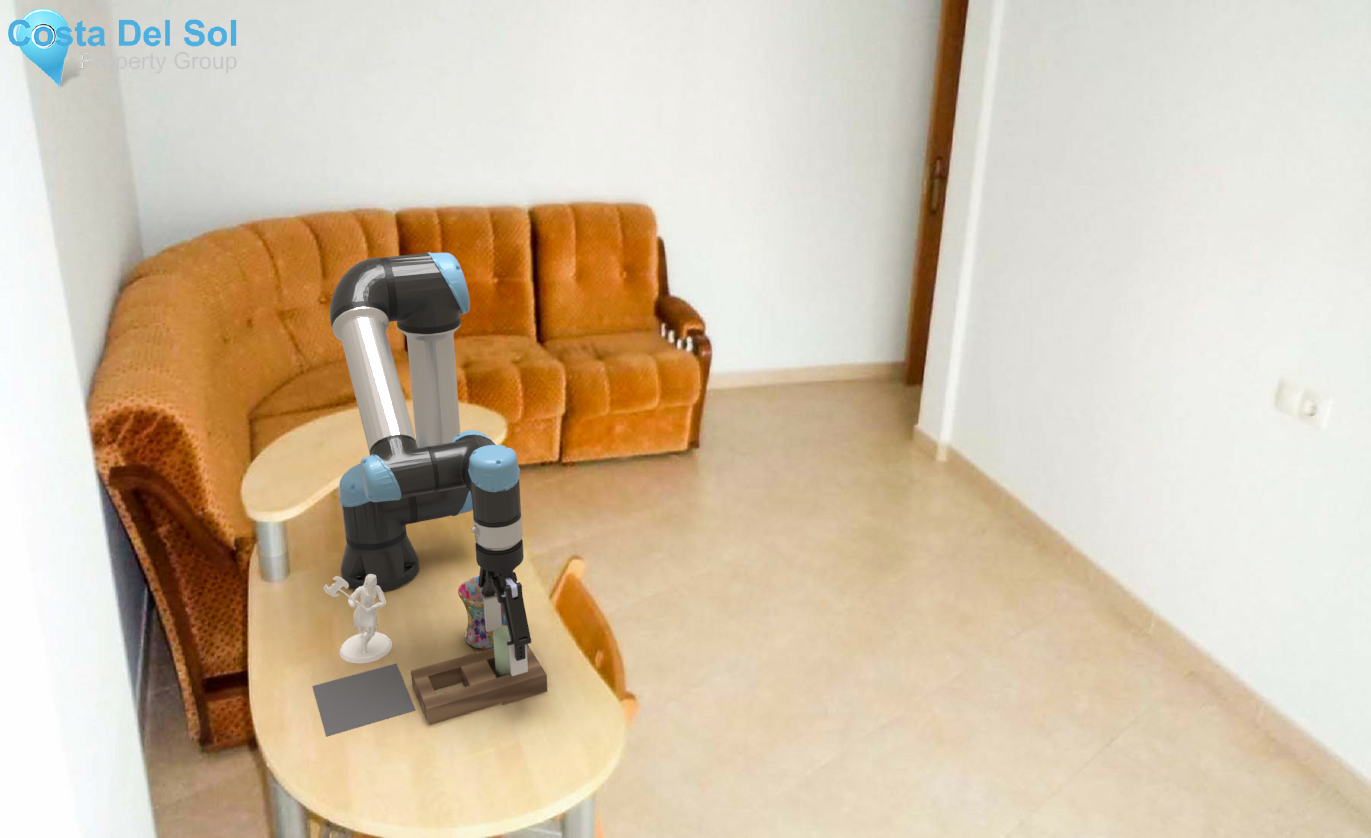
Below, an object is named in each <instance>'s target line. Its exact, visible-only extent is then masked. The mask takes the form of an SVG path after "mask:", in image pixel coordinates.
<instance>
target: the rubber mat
mask: <svg viewBox="0 0 1371 838" xmlns="http://www.w3.org/2000/svg"><path fill="white" fill-rule="evenodd" d="M312 689H313V693H314V698H315V700H316V705H317V708H318V712H319V715H320V718H321V722H322V726H323V731H324V733H325V734H324V735H325V736H326V737H330V736H333V735H336V734H341V733H344V732H347V731H351V730H354V729H358V728H360V727H364V726H365V727H366V726H367V725H368V726H369V725H371V724H375V723H377V722H381V721H385V720H389V719H391V718H394V717H398V716H399V717H400V716H402V715H406V714H409V713H412V712H415V711H417V709H416V707H415V705H414V703H413V700H412V698H411V695H410V693H409V690H408V688H407V684H406V683H405V681H404V678H403V676H402V673H401V671H400V669H399V667H398V664H397V662H396V663H393V664H388V665H386V666H380V667H377V668H374V669H371V670H366V671H362V672H359V673H356V674H355V673H354V674H352V675H348V676H345V677H339V678H338V679H334V680H330V681H326V682H322V683H319V684H315V685H312Z"/></svg>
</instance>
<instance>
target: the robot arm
mask: <svg viewBox="0 0 1371 838" xmlns="http://www.w3.org/2000/svg"><path fill="white" fill-rule="evenodd" d="M470 306H471V300H470V294H469V289H468V285H467V281H466V278H465V275H464V272H463V270H462V268H461V265H460V263H459V260H458V259H457V258H456V257H455V256H454V255H453V254H451V253H450V252H429V251H428V252H422V253H414V254H404V255H396V256H386V257H371V258H366V259H364V260H361V261H359V262H358V263H356V264H354V265H352V266H351V267H350V268H349V269H348V270H347V271H346V272H345V273H344V274H343V276H342V277H341V278H340V280H339V282H337V285H336V286H335V288H334V290H333V293H332V296H331V300H330V305H329V321H330V326H331V329H332V333H333V335H334V337H335V338H336V339H337V340H339V341H341V344H342V348H343V352H344V356H345V359H346V364H347V368H348V372H349V377H350V380H351V384H352V389H353V392H354V395H355V400H356V401H355V402H356V405H357V408H358V411H359V416H360V420H361V421H360V422H361V425H362V427H363V428H362V429H363V433H364V437H365V441H366V445H367V448H368V453H369V455H368V456H365V457H363V458H362V459H361V460H360V462H359V463H358V464H356V465H354V466H352V467H350V468H349V469H348V470H346V472H344V473H343V474H342V476H341V478H340V480H339V483H338V484H339V504H340V505H341V510H342V511H341V512H342V519H343V527H344V535H345V542H346V543H345V548H344V552H343V556H342V562H341V565H340V575H341V576H340V577H341V578H343V579H344V580H345V581H346V582H347V583H348V584H349V587H348V588H347V589H350V590H352V591H355V590H356V589H357V588H359V587H360V586H363V585H364V582H365V578H366V576H367V575H368V574H374V575H376V578H377V584H376V585H378V586H380V588H381V590H382V591H383V593H384V592H388V591H392V590H395V589H398V588H401V587H404V586H405V585H407V584H409V583H410V582H412V581H413V580H415V578H416V577H417V576H418V574H419V572H420V561H419V556H418V554H417V552H416V549H415V548H414V546H413V544H412V542H411V540H410V538H409V536H408V533H407V525H409V524H410V525H411V524H417V523H421V522H427V521H430V520H431V521H432V520H437V519H442V518H447V517H451V516H452V517H456V516H458V515H462V514H464V513H465V514H466V513H470V512H471V511H472V515H473V516H472V517H473V524H474V526H471V527H470V530H471V533H473V534H474V540H475V547H474V548H475V556H476V557H475V560H476V564H477V565H478V566H479V573H478V574H479V575H478V576H479V583H478V585H479V587H480V588H482V587H483V589H482V595H483V596H485V598H483V600H484V614H485V627H486V631H487V632H490V631H493V630H495V629H496V628H498V627H501V626H502V620H501V605H500V603H501V604H502V607H503V611H504V615H505V619H506V623H507V627H508V631H509V635H510V639H511V640H509V641H508V642H507V645H508V646H509V655H510V671H511V675H512V676H515V675H518V674H522V673H525V672H528V661H527V644H528V645H529V644H532V638H531V632H530V629H529V628H530V627H529V622H528V617H527V614H526V613H527V612H526V607H525V602H524V595H523V585H522V583H521V581H520V582H518V576H517V573H516V571H514V570H515V569H516V568H517V567H519V566H520V565H521V564H522V563H523V561H524V557H525V556H524V543H523V536H524V531H523V517H522V511H521V510H522V507H521V485H520V483H521V482H520V476H521V475H520V474H521V469H520V467H519V460H518V455H517V452H516V451H515V450H514V449H513V448H511V447H507V446H505V445H501V444H496V443H495V441H493V440H492V439H491V438H490V437H489V436H488V435H486V434H485V433H483V432H481V431H479V430H473V429H472V430H471V429H470V430H464V431H462V432H461V424H460V422H461V421H460V410H459V409H460V408H459V395H458V394H459V393H458V382H457V380H458V379H457V366H456V365H457V364H456V352H455V351H456V350H455V337H454V334H455V332H456V331H458V329H459V328H460V327H461V325H462V318H461V315H465V314H467V313H469V311H470V309H471V307H470ZM391 322H396V327H397V330H398V331H400V332H401V333H402V334H403V335H405V336H406V342H407V356H408V364H409V366H408V367H409V373H410V374H409V376H410V385H411V386H410V387H411V397H412V409H413V421H414V429H415V430H414V429H413V424H412V421H411V416H410V415H409V410H408V407H407V403H406V400H405V395H404V393H403V389H402V384H401V381H400V377H399V374H398V371H397V367H396V364H395V359H394V356H393V353H392V350H391V349H392V348H391V346H390V342H389V339H388V335H387V331H388V328H389V327H390V323H391ZM366 585H367V584H366ZM495 593H496V595H495ZM501 595H506V597H502V596H501Z"/></svg>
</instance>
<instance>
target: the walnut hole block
mask: <svg viewBox="0 0 1371 838" xmlns="http://www.w3.org/2000/svg"><path fill="white" fill-rule="evenodd" d="M527 661H528V672H525V673H522V674H518V675H515V676H512V675H511V674H509V675H505V676H502V677H499V678H496V669H495V655H494V648H487V649H485V650H481V651H478V652H475V653H471V654H467V655H463V656H460V657H456V658H452V659H448V660H445V661H442V662H438V663H434V664H431V665H430V664H429V665H427V666H423V667H420V668H416V669H412V670H410V675H411V676H410V677H411V683H412V684H411V685H412V688H413V691H414V693H415V696H416V698H417V700H418V703H419V705H420V708H421V709H422V712H423V714H424V717H425V719H426V722H427V724H428V725H429V726H430V725H434V724H437V723H440V722H441V723H442V722H444V721H448V720H451V719H454V718H457V717H461V716H465V715H467V714H471V713H474V712H478V711H480V710H484V709H487V708H491V707H494V706H497V705H500V704H501V705H507V704H509V703H513V702H516V701H519V700H523V699H526V698H529V697H532V696H537V695H540V694H542V693H546V692H548V679H547V675H548V674H547V673H546V671H545V669H544V668H543V666H542V665H541V663H540V661H539V660H538V658H537V656H536V655H535V653H534V652H533V650H532V649H531V647H530V646H529V644H527ZM461 683H462V684H463V687H461V688H457V689H454V690H451V691H448V692H444V693H439V694H437V693H436V691H437V690H440V689H443V688H447V687H450V686H451V687H452V686H454V685H458V684H461Z"/></svg>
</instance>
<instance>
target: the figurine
mask: <svg viewBox="0 0 1371 838" xmlns="http://www.w3.org/2000/svg"><path fill="white" fill-rule="evenodd" d="M332 580H334V581H335V582H333V583H331V586H328V584H325V585H324V586H323V590H324V592H325V593H326V594H328V595H329V596H330V597H332V598H338V597H339V596H341V595H340V593H342V594H343V595H345V596H346V597H348V599H347V602H348V603H347V604H348V605H349V607H351V608H356V609H355V610H354V611H353V624H354V625H353V630H354V631H355V629H356V628H358V633H357V634H354V635H352V636H350V637H349V638H348V639H346V640H345V641H344V643H342V645H341V647H340V649H339V656H340V658H342V660H343V661H346V662H347V663H350V664H351V663H352V664H367V663H371V662H375V661H378V660H380V659H382V658H384V657H385V656H386V655H387V654H389V653H390V651H391V649H393V641H392V640H391V639H390V637H388V636H387V635H386V634H384V633H383V632H379V631H378V630H379V623H378V613H377V610H378V609H382V608H383V607H384V606H386V605H387V602H386V598H385V595H384V592H383V591H382V590H381V588H380V586H378V585H376V584H377V578H376V575H374V574H368V575H367V576H366V578H365V582H364V585H363V586H360V587H359V588H357V589H356V590H354V592H353V593H352V594H350V595H349V593H347V592H345V591H344V590H343V589H342V588H343V587H344V588H345V590H348V589H349V588H348V587H349V584H348V583H347V582H346V581H345V580H344V579H343V578H342V576H337V575H335V576H334V577H332ZM366 584H367V585H366ZM338 591H340V593H337V592H338ZM358 597H359V598H360V601H358V600H357V599H358ZM377 597H378V600H379V601H378V602H376V603H374V600H375V599H376V598H377Z"/></svg>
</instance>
